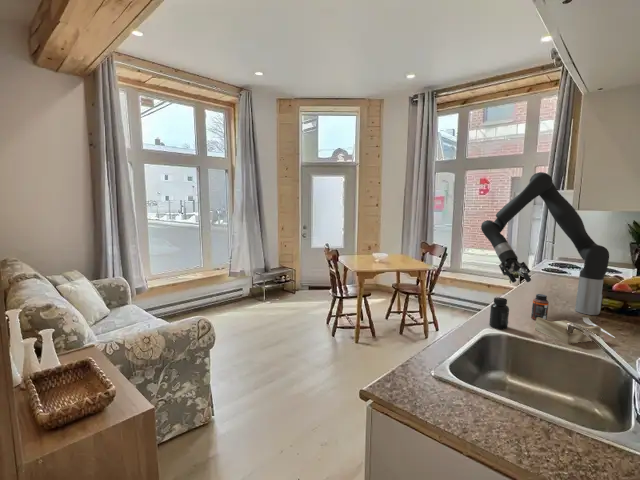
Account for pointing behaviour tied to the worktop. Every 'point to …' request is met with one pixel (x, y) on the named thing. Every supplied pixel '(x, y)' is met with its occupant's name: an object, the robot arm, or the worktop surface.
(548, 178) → the robot arm
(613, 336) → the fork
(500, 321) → the supplement bottle
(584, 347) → the worktop surface
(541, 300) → the supplement bottle
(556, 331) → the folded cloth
